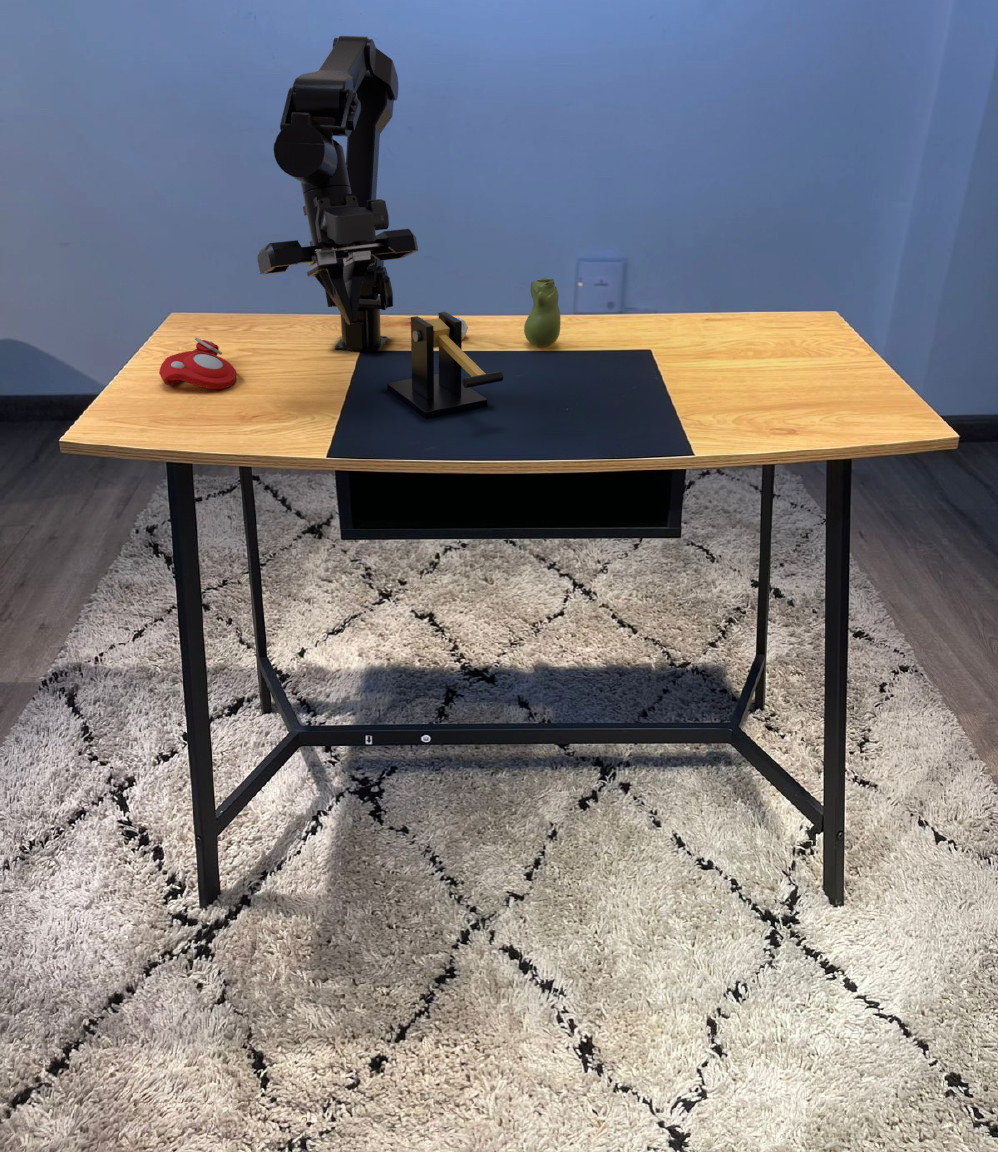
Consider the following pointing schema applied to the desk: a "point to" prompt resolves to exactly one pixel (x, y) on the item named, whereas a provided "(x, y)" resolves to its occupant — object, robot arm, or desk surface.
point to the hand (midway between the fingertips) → (352, 323)
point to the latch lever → (461, 357)
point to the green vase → (543, 314)
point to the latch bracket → (435, 390)
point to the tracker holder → (199, 367)
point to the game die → (463, 328)
